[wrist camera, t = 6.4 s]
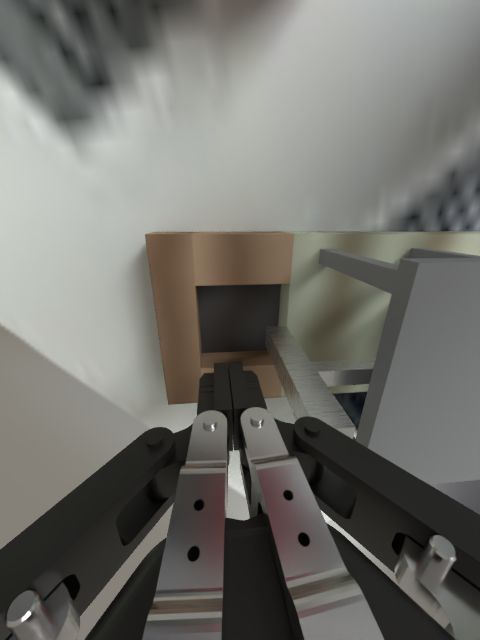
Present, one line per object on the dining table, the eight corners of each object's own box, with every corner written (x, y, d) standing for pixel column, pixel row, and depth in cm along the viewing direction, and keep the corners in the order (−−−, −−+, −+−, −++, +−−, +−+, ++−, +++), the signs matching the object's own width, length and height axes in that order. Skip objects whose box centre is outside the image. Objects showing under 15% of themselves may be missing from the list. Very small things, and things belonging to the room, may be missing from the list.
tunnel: (426, 240, 18) (604, 260, 10) (385, 385, 23) (481, 479, 15) (321, 241, 17) (419, 262, 9) (302, 391, 22) (355, 492, 14)
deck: (525, 231, 22) (570, 233, 19) (469, 365, 27) (497, 382, 24) (155, 232, 19) (145, 234, 16) (173, 383, 24) (168, 404, 21)
